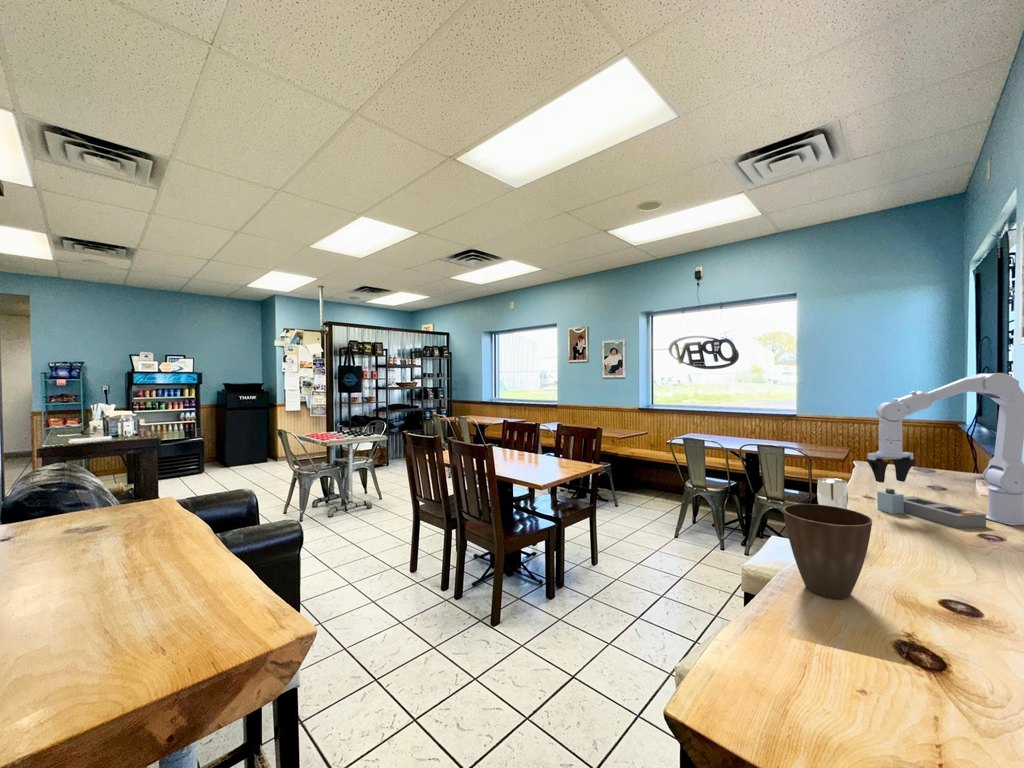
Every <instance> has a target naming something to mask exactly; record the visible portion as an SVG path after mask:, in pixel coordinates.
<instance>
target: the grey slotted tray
mask: <svg viewBox="0 0 1024 768" xmlns="http://www.w3.org/2000/svg"><path fill="white" fill-rule="evenodd" d="M904 513H905V514H908V515H912V516H915V517H918V518H923V519H925V520H930V521H931V522H932V521H933V522H935V523H939V524H943V525H946V526H949V527H953V528H955V529H969V528H971V529H972V528H982V527H984V528H985V527H987V519H986V515H987V514H986V513H983V512H977V511H975V510H970V509H966V508H962V507H959V506H954V505H950V504H947V503H942V502H939V501H934V500H930V499H927V498H924V497H919V496H914V495H912V496H911V495H909V496H904Z"/></svg>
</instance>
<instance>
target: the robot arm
mask: <svg viewBox="0 0 1024 768" xmlns="http://www.w3.org/2000/svg"><path fill="white" fill-rule="evenodd" d="M970 392H972V393H977V394H979V395H983V396H984V397H987V398H989V399H991V400H992V401H994V402H995V403H996V404H997V405H999V409H998V416H997V417H998V418H997V428H996V437H995V445H994V446H995V447H994V454H993V457H992V458H991V459H990V460H989V461H988V465H987V467H986V468H985V469H984V471H983V474H982V476H983V480H984V481H985V482H986V483H987V484H988V487H987V493H988V494H987V497H988V499H987V501H988V503H987V504H988V505H987V506H988V514H986V520H988V521H994V522H997V523H1000V524H1005V525H1008V526H1023V525H1024V462H1023V460H1022V458H1023V449H1024V392H1023V389H1022V388H1021V387H1020V381H1019V380H1018V379H1016V378H1015V377H1013V376H1011V375H1009V374H1007V373H1004V372H995V373H985V372H983V373H982V372H981V373H977V374H975V375H971V376H966V377H964V378H960V379H958V380H955V381H953V382H950V383H948V384H945V385H943V386H940V387H938V388H935V389H932V390H930V391H928V392H925V391H922V390H920V391H916V390H912V391H909V392H908V394H907V395H905V396H901V397H899V398H897V397H895V398H892V400H891V401H892V402H890V401H889V402H887V401H886V402H882V403H880V404H879V405H878V406H877V408H876V409H875V414H876V415H877V417H879V422H878V423H879V424H878V450H876V452H869V453H867V458H866V462H867V464H868V465H869V466H870V469H871V470H872V473H873V476H874V479H875V481H876V482H878V483H881V484H882V483H883V484H884V483H885V479H886V470H887V467H888V465H889V462H888V461H884V460H892V462H893V464H894V469H895V478H896V481H898V482H903V483H905V481H906V480H907V476H908V474H909V472H910V470H911V468H912V467H913V466H914V465H915V463H916V462H915V461H916V460H914V452H909V451H903V419H905V418H906V416H910V415H913V414H915V413H919V412H923V411H925V410H927V409H930V408H931V407H932V406H933V405H934V402H938V401H940V400H943V399H947V398H950V397H953V396H957V395H959V394H962V393H963V394H964V393H970Z"/></svg>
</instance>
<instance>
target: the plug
mask: <svg viewBox="0 0 1024 768" xmlns="http://www.w3.org/2000/svg"><path fill="white" fill-rule="evenodd" d="M876 492H877V493H876V494H877V495H876V496H877V498H876V499H877V500H876V502H877V510H878V511H882V512H884V511H885V513H887V512H888V514H891V513H892V514H891V515H898V514H897V513H902V514H904V513H905V512H904V497H905V495H904V494H903V493H898V492H896V491H895V489H893V488H890V487H889V488H885V490H878V491H876Z"/></svg>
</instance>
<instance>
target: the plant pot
mask: <svg viewBox="0 0 1024 768" xmlns="http://www.w3.org/2000/svg"><path fill="white" fill-rule="evenodd" d="M782 511H783V517H784V522H785V528H786V532H787V536H788V541H789V544H790V548H791V552H792V554H793V557H794V560H795V563H796V566H797V569H798V572H799V574H800V576H801V579H802V581H803V583H804V586H805V588H806V589H807V590H808V591H809V592H811V593H813V594H816V595H817V596H821V597H824V598H828V599H833V600H836V599H837V600H844V599H848V598H849V597H850V596H851V594H852V592H853V590H854V588H855V587H856V584H857V583H858V580H859V576H860V574H861V572H862V569H863V567H864V563H865V559H866V557H867V553H868V550H869V549H868V548H869V543H870V539H871V538H870V537H871V532H872V525H873V519H872V518H871V517H870V516H869V515H866V514H864V513H861V512H858V511H855V510H852V509H848V508H847V509H844V508H839V507H833V506H826V505H819V504H817V503H816V504H814V503H813V504H812V503H796V504H793V503H792V504H788V505H785V506H784V507H783V509H782Z"/></svg>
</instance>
